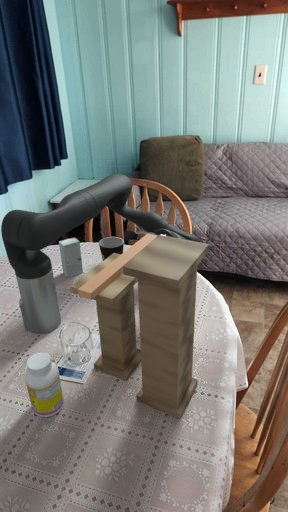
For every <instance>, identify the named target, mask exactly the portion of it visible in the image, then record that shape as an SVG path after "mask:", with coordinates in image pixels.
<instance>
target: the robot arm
mask: <svg viewBox="0 0 288 512" xmlns="http://www.w3.org/2000/svg"><path fill="white" fill-rule="evenodd" d="M132 190H133V182H132V180H131V179H130V178H129V177H128V176H127V175H125V174H121V173H112V174H109V175H107V176H106V177H104V178H102V179H101V180H98V181H97V182H96V183H94V184H91V185H89V186H87V187H84V188H82V189H79V190H76V191H74V192H71V193H69V194H67V195H65V196H64V197H63V198H62V199H61V201H60V202H59V204H58V207H57V208H55V209H53V210H50V211H46V212H35V211H34V212H33V211H29V210H23V209H13V210H10V211H8V212H7V213H6V214H5V215H4V217H3V218H2V222H1V226H0V231H1V232H0V233H1V238H2V243H3V246H4V250H5V252H6V256H7V261H8V263H9V265H10V266H11V267H12V269H13V270H14V274H15V277H16V282H17V287H18V291H19V295H20V299H19V301H18V304H19V309H20V314H21V318H22V322H23V326H24V331H28V332H31V333H33V334H46V333H50V332H52V331H54V330H56V329H57V328H58V327H59V326H60V325H61V323H62V318H61V317H62V316H61V312H60V306H59V301H58V295H57V290H56V289H57V288H56V284H55V276H54V269H53V265H52V261H51V260H52V259H51V258H50V256H49V255H47V254H46V253H45V252H43V249H45V248H47V247H49V246H50V245H52V244H53V243H54V242H56V241H57V240H58V239H59V238H61V237H62V236H63V235H64V236H65V235H66V233H68V232H70V231H72V230H74V229H75V228H77V227H79V226H81V225H84V224H86V223H87V222H89V221H91V220H93V219H94V218H96V217H97V216H98V215H99V214H100V213H101V212H102V211H103V210H104V209H105V208H108V209H109V210H111V211H112V212H114V213H115V214H117V215H119V216H121V217H122V218H124V219H126V220H127V221H129V222H131V223H133V224H135V225H136V226H138V227H139V228H141V229H142V230H140V231H138V232H137V231H135V230H131V229H126V230H125V231H124V233H123V240H125V241H130V242H134V244H135V243H136V242H138V241H139V240H140V239H141V238H143V237H144V236H145V235H146V234H153V235H158V236H159V235H164V236H169V237H175V238H180V239H185V240H190V241H195V242H200V243H203V242H202V240H201V238H199V237H198V236H196V235H195V234H191V233H190V232H187V231H184V230H182V229H180V228H179V227H176V226H175V225H174V224H172V223H171V222H170V221H169V220H167V219H166V218H165V217H163V216H162V215H161V214H159V213H157V212H152V211H144V210H136V209H133V208H132V207H130V206H129V205H128V204H127V202H128V200H129V198H130V195H131V194H132ZM143 230H144V231H143ZM158 236H157V237H158ZM157 237H156V238H157Z"/></svg>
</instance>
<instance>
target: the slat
mask: <svg viewBox="0 0 288 512" xmlns="http://www.w3.org/2000/svg"><path fill="white" fill-rule="evenodd" d="M144 235H145V236H144ZM144 235H143V236H144V237H143V238H141V239H140V240H139V241H138V242H136V243H135V242H134V244H132V245H131V246H130V247H129V248H128V249H126V250H125V251H123V254H121V255H120V256H119V257H118V258H116V259H115V260H114V261H113V262H111V263H110V264H109V265H108V266H106V267H105V268H104V269H103V270H101V271H100V272H99V273H98V274H96V275H95V276H94V277H93V278H91V279H90V280H89V281H88V282H86V283H85V284H84V285H83V286H81V287H80V288H79V289H78V295H77V296H79V297H80V298H83V299H86V300H87V299H88V300H91V301H93V298H94V297H96V296H97V295H98V294H99V293H100V292H101V291H102V290H103V289H105V288H106V287H107V286H108V285H109V284H110V283H111V282H113V281H114V280H115V279H116V278H117V277H118V276H119V275H121V274H122V273H123V266H124V265H125V264H126V263H128V262H129V261H130V260H131V259H132V258H133V257H135V256H136V255H137V254H138V253H139V252H140V251H142V250H143V249H144V248H145V247H146V246H147V245H149V244H150V243H151V242H152V241H153V240H154V239H156V237H157V236H158V235H153V234H144Z"/></svg>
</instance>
